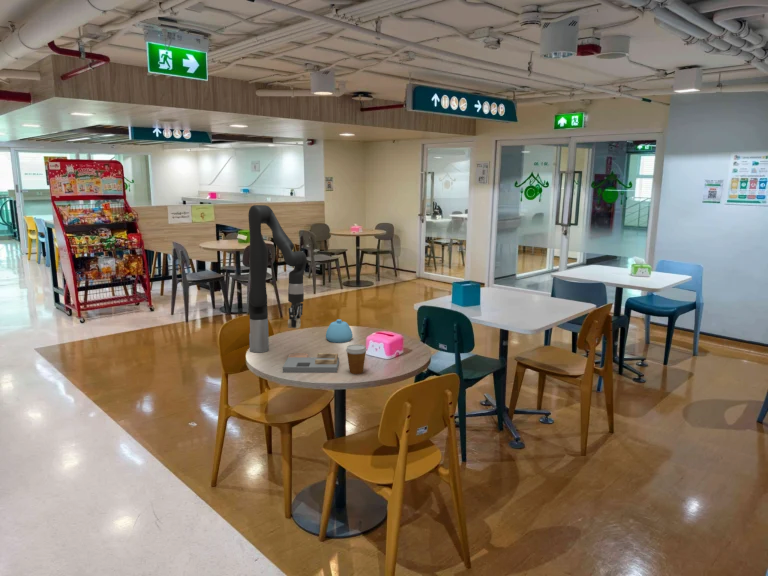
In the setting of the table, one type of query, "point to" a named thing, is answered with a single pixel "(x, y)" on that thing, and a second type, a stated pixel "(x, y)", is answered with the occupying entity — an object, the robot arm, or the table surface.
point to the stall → (327, 360)
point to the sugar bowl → (339, 332)
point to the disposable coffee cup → (356, 358)
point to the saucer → (298, 355)
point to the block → (298, 323)
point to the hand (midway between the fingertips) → (295, 325)
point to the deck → (309, 365)
